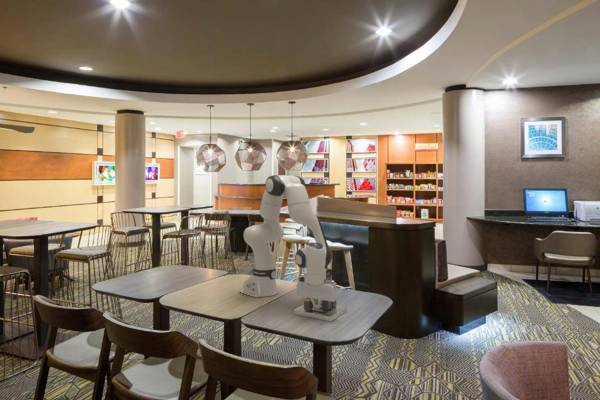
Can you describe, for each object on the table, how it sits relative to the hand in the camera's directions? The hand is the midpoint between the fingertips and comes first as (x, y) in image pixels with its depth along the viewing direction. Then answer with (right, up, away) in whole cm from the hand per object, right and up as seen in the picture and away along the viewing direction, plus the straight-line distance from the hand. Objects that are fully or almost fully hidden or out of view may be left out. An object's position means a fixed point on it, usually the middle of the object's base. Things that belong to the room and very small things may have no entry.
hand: (316, 307), depth 176 cm
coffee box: (+4, -3, +24) cm, 24 cm away
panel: (+2, -4, +5) cm, 6 cm away
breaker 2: (+8, -1, +7) cm, 11 cm away
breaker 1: (+5, -1, +3) cm, 6 cm away
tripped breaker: (-4, -1, +2) cm, 5 cm away
